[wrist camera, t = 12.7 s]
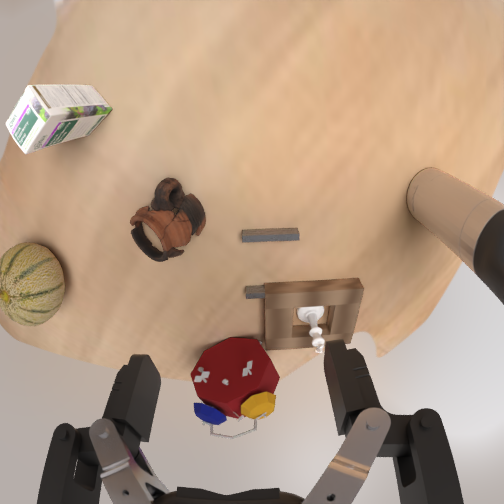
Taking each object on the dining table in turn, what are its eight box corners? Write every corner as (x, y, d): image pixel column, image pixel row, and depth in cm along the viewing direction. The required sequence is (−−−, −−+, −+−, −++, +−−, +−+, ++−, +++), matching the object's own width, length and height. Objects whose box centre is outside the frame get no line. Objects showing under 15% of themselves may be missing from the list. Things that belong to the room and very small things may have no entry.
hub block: (358, 277, 45) (364, 288, 43) (346, 332, 52) (350, 343, 49) (264, 283, 46) (265, 294, 43) (265, 338, 52) (265, 350, 49)
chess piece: (291, 314, 49) (298, 357, 40) (307, 295, 47) (318, 337, 38) (313, 323, 50) (322, 365, 42) (329, 305, 48) (342, 346, 39)
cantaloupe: (51, 301, 49) (17, 349, 35) (13, 246, 42) (-30, 287, 29) (91, 281, 46) (53, 337, 33) (48, 215, 39) (-5, 259, 26)
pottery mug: (210, 243, 43) (176, 277, 37) (164, 221, 45) (129, 250, 40) (212, 173, 35) (168, 203, 29) (158, 156, 37) (114, 181, 32)
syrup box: (89, 136, 33) (25, 158, 21) (68, 111, 31) (2, 124, 18) (113, 108, 32) (51, 117, 19) (91, 83, 30) (26, 83, 17)
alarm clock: (209, 363, 56) (199, 448, 38) (189, 336, 52) (172, 428, 34) (277, 348, 53) (285, 439, 36) (263, 318, 49) (269, 418, 32)
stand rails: (297, 227, 41) (299, 233, 39) (294, 289, 46) (296, 296, 45) (242, 229, 41) (242, 235, 39) (246, 291, 46) (246, 298, 45)
